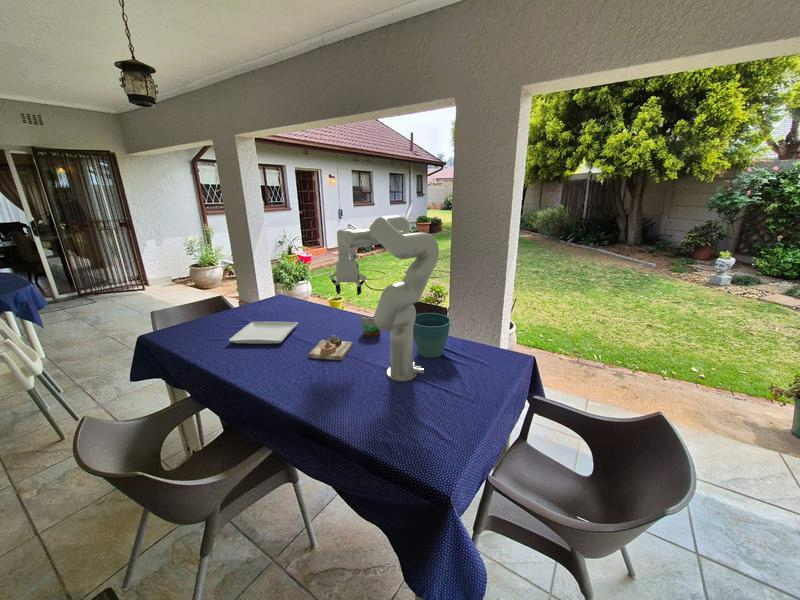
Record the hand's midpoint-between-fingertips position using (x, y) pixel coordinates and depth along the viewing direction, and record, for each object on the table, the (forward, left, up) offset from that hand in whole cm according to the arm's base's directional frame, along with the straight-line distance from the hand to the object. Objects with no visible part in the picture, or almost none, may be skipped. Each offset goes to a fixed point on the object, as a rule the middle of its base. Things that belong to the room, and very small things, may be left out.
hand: (348, 293), depth 156 cm
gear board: (+9, +4, -28) cm, 30 cm away
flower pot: (-38, -2, -28) cm, 48 cm away
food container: (-4, -18, -28) cm, 34 cm away
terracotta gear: (+9, +8, -26) cm, 29 cm away
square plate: (+51, -9, -29) cm, 59 cm away
